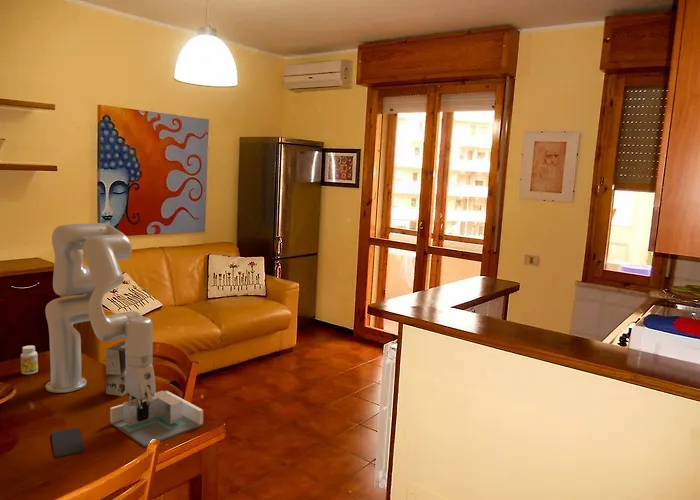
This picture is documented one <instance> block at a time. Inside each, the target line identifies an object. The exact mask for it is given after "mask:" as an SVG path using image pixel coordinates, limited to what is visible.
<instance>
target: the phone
mask: <svg viewBox="0 0 700 500" xmlns="http://www.w3.org/2000/svg"><path fill="white" fill-rule="evenodd" d="M50 435H51V436H50V437H51V444H52V451H53V457H54V458H56V459H57V458H59V459H60V458H64V457H68V456H73V455H79V454H82V453H84V452H86V451H85V450H86V449H85V446H84V445H85V444H84V442H83V437H82V433H81V429H80V428H78V427H74V428H68V429H63V430H57V431H54V432H51V434H50Z"/></svg>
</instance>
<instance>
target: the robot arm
mask: <svg viewBox="0 0 700 500" xmlns="http://www.w3.org/2000/svg"><path fill="white" fill-rule="evenodd" d="M51 245H52V248H53V252H54V261H53V262H54V263H53V275H52V276H53V277H52V288H53V291H54V293H55V294H56V295H58V296H61V297H58V298H55V299H52V300H51V301H48V303H47V304H46V306H45V310H44V311H45V312H44V313H45V318H46V321H47V326H48V327H47V328H48V336H49V337H48V338H49V361H50V367H49V368H50V381H48V382H47V383H46V384H45V389H46V391H47V392H49V393H50V392H51V393H55V394H57V393H59V394H63V393H70V392H71V393H72V392H75V391H78V390H81V389H83V388H85V387H86V386H87V379H86V378H85V377H82V340H81V337H82V336H81V334H80V332H79V331H78V330H77V329H76V328H75V327H74V325H75V324H80V323H84V322H90V324H91V327H92V330H93V333H94V335H95V337H96V338H97V339H98V340H99V341H102V342H112V341H115V340H120V339H124V342H125V365H126V370H125V390H126V392H127V393H126V394H127V396H128V397H129V398H128V401H129V400H133V399H136V398H137V399H138V402H139V408H138V421H139V422H140V421H143V420H146V419H148V418H149V406H150V404H151V403H153V398H152V397H153V396H155V393H156V378H155V371H154V365H153V333H154V332H153V329H154V328H153V320H152V319H151V318H150V317H146V316H143V315H142V314H141V313H139V312H138V311H135V310H131V311H126V312H120V313H119V312H118V313H114V314H109V315H106V313H105V311H104V308H103V298H104V297H105V295H106V294H107V293H109V292H111V291H113V290H114V289H116V288H117V287H119V286H120V285H121V284H122V283H123V282H124V279H125V278H124V275H123V271H122V269H121V267H120V266H121V265H120V264H119V261H123V260H127V259H129V258H130V257H131V256H132V252H133V248H132V244H131V241H130V239H129V238H128V237H127V235H126V234H124V233H123V232H121V231H120V230H119V229H118V228H116V227H114V226H112V225H110V224H108V223H106V222H97V223H96V222H95V223H89V222H88V223H68V224H61V225H58V226H57V227H55V228H54V230H53V231H52V234H51ZM84 258H85V260H86V264H87V265H84ZM62 296H63V297H62ZM143 396H145V397H143ZM142 400H146V401H144V402H143V403H142Z"/></svg>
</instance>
